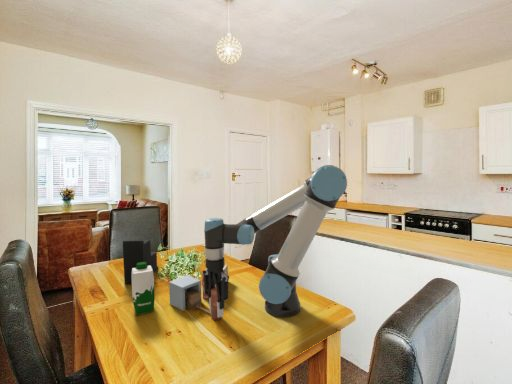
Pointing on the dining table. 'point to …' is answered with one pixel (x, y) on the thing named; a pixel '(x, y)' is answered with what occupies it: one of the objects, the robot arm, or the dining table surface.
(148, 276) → the milk carton
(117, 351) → the dining table surface
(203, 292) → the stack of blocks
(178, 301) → the box
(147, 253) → the bookend
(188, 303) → the tethered block
